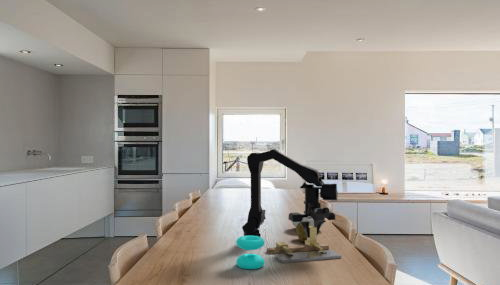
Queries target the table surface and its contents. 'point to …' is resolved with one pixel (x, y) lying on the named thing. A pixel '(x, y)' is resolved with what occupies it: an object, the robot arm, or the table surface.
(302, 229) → the potato
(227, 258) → the table surface
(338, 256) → the hole plate
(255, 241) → the donuts
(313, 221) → the cereal bowl
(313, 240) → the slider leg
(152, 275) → the table surface
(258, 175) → the robot arm
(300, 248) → the rail
